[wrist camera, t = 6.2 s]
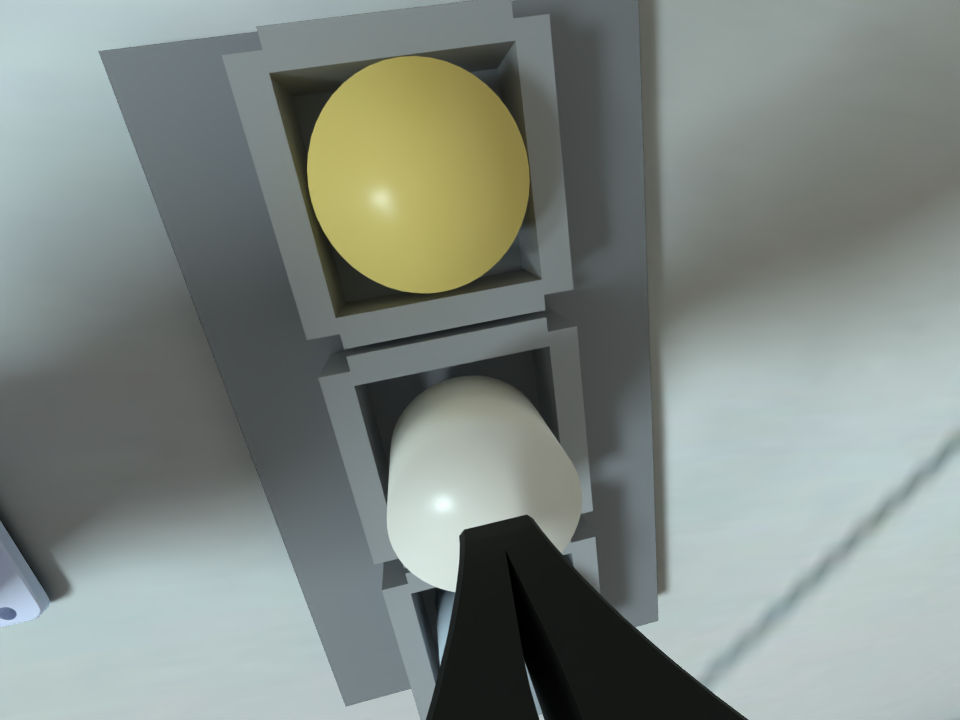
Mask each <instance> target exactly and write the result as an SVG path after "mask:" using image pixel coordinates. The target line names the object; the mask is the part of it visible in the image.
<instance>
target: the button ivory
mask: <svg viewBox="0 0 960 720" xmlns="http://www.w3.org/2000/svg"><path fill="white" fill-rule="evenodd" d="M581 509H582V488H581V483H580V479H579V476H578V473H577V471H576V469H575V467H574V465H573V463H572V461H571V460H570V458H569V457H568V455H567V454H566V452H565V451H564V449H563V448H562V446H561V445H560V444H559V442H558V441H557V439H556V438H555V436H554V435H553V433H552V432H551V430H550V429H549V427H548V426H547V424H546V423H545V421H544V420H543V418H542V417H541V415H540V414H539V412H538V411H537V409H536V408H535V406H534V405H533V404H532V402H531V401H530V400H529V399H528V398H527V397H526V396H525V395H524V394H523V393H522V392H521V391H520V390H518V389H517V388H516V387H514V386H512V385H510V384H508V383H507V382H504V381H502V380H499V379H496V378H492V377H487V376H478V375H471V376H460V377H454V378H451V379H447V380H444V381H442V382H439V383H437V384H435V385H433V386H431V387H429V388H427V389H426V390H424V391H423V392H422V393H420V394H419V395H418V396H416V397H415V398H414V399H413V400H412V401H411V402H410V403H409V404H408V406H407V407H406V408H405V409H404V411H403V412H402V414H401V416H400V417H399V419H398V421H397V423H396V425H395V428H394V431H393V435H392V439H391V448H390V465H389V483H388V500H387V530H388V535H389V539H390V542H391V545H392V547H393V550H394V551H395V553H396V555H397V557H398V558H399V560H400V561H401V562H402V563H403V565H404V566H405V567H406V568H407V569H408V570H409V571H410V572H411V573H412V574H414V575H415V576H417V577H418V578H419V579H421V580H422V581H424V582H426V583H428V584H430V585H432V586H435V587H437V588H440V589H443V590H447V591H452V592H455V591H456V584H457V576H458V568H459V552H460V542H459V535H460V534H461V533H462V532H463V530H464V529H469V528H473V527H477V526H481V525H485V524H489V523H494V522H498V521H502V520H506V519H510V518H514V517H518V516H523V515H529V516H530V517H532V518H533V519H534V520H535V522H536V523H537V524H538V526H539V527H540V528H541V530H542V531H543V532H544V533H545V535H546V536H547V537H548V538H549V540H550V541H551V542H552V543H553V544H554V546H555V547H556V548H557V549H558V550H559V551H560V552H561V553H562V551H563V550H564V549H565V547H566V546H567V545H568V543H569V542H570V540H571V538H572V536H573V535H574V532H575V530H576V528H577V525H578V522H579V519H580V515H581Z"/></svg>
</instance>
